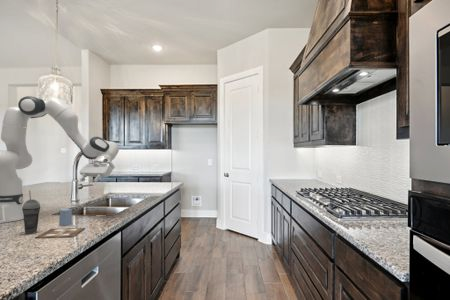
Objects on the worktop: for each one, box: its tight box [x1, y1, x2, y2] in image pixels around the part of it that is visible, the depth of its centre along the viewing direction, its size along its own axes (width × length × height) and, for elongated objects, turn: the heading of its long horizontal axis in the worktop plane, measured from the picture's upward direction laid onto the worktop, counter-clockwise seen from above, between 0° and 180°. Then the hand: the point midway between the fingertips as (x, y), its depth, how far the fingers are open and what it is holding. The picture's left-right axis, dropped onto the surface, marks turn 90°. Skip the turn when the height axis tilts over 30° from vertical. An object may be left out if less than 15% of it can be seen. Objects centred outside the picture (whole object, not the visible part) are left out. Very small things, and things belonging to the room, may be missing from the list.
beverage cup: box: [22, 190, 42, 235], centre depth 131 cm, size 7×7×20 cm
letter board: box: [34, 227, 86, 239], centre depth 130 cm, size 16×14×1 cm
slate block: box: [58, 208, 73, 227], centre depth 145 cm, size 4×4×8 cm
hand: (88, 181), depth 158 cm, fingers open, 8 cm apart
